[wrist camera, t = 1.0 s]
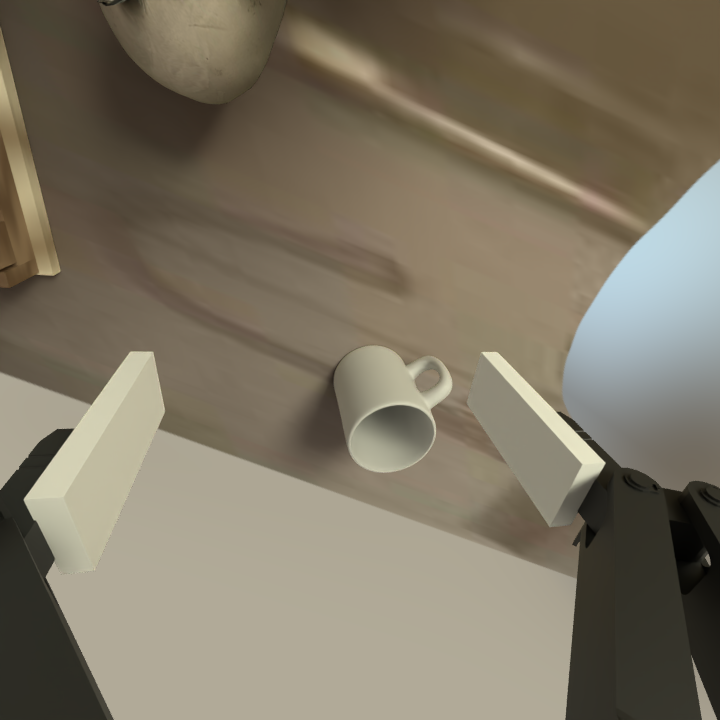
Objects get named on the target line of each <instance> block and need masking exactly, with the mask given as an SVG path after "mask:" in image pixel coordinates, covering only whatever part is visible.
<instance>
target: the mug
mask: <svg viewBox="0 0 720 720" xmlns="http://www.w3.org/2000/svg"><path fill="white" fill-rule="evenodd" d="M429 369H433V370H436V371H437V372H438V373H439V376H440V379H439V381H438V383H437V384H436V385H435V386H434V387H432V388H430V389H429V390H426V391H424V392H419V390H418V389H417V387H416V384H415V378H416V377H417V376H418V375H420V374H421V373H422V372H424V371H426V370H429ZM334 389H335V393H336V397H337V401H338V406H339V410H340V415H341V420H342V425H343V430H344V434H345V439H346V444H347V448H348V451H349V454H350V456H351V457H352V459H353V460H354V461H355V462H356V463H357V464H358V465H359V466H361V467H362V468H364V469H366V470H369V471H373V472H380V473H388V472H395V471H399V470H403V469H405V468H408V467H410V466H412V465H413V464H415V463H416V462H418V461H419V460H420V459H422V458H423V457H424V456H425V455H426V454H427V452H428V451H429V450H430V448H431V447H432V445H433V443H434V440H435V436H436V425H435V421H434V419H433V416H432V414H431V411H430V410H431V408H432V407H434V406H435V405H436V404H438V403H439V402H441V401H442V400H443V399H444V398H446V397H447V396H448V395H449V393H450V392H451V389H452V379H451V376H450V374H449V371H448V370H447V368H446V367H445V365H444V364H443V363H442V362H441V361H440V360H439V359H437V358H435V357H433V356H423V357H421V358H419V359H417V360H415V361H413V362H411V363H410V364H408V365H406V366H405V364H404V362H403V360H402V359H401V358H400V356H399V355H398V354H396V353H395V352H394V351H392V350H391V349H389V348H386V347H383V346H376V345H371V346H364V347H361V348H358V349H355V350H354V351H352V352H350V353H349V354H347V355H346V356H345V357H344V358H343V359H342V360H341V361H340V363H339V364H338V366H337V368H336V371H335V374H334Z"/></svg>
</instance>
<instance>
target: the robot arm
mask: <svg viewBox="0 0 720 720" xmlns="http://www.w3.org/2000/svg"><path fill="white" fill-rule="evenodd" d="M467 405H468V406H469V408H470V409H471V411H472V412H473V414H474V415H475V417H476V418H477V420H478V421H479V423H480V424H481V426H482V427H483V429H484V430H485V432H486V433H487V435H488V436H489V437H490V439H491V440H492V442H493V443H494V445H495V446H496V448H497V449H498V451H499V452H500V454H501V455H502V457H503V458H504V460H505V461H506V463H507V464H508V466H509V467H510V469H511V470H512V472H513V473H514V475H515V476H516V478H517V479H518V481H519V482H520V484H521V485H522V487H523V488H524V489H525V491H526V492H527V494H528V495H529V497H530V498H531V500H532V501H533V503H534V504H535V506H536V507H537V509H538V510H539V512H540V513H541V515H542V516H543V518H544V519H545V521H546V522H547V524H548V525H549V527H556V526H566V525H571V524H572V522H573V520H574V518H575V517H576V515H577V513H578V512H579V514H580V515H581V516H582V518H583V519H584V520H585V523H584V525H583V526H582V528H581V530H580V531H579V533H578V535H577V536H576V538H575V540H574V542H573V544H572V545H574V546H577V544H578V542H580V550H579V562H578V574H577V588H576V599H575V612H574V625H573V635H572V647H571V660H570V671H569V684H568V695H567V707H566V720H702V718H701V712H700V706H699V699H698V694H697V688H696V682H695V675H694V670H693V663H692V658H693V660H694V663H695V665H696V668H697V670H698V673H699V675H700V678H701V680H702V682H703V685H704V688H705V690H706V692H707V695H708V697H709V700H710V702H711V705H712V707H713V710H714V712H715V715H716V717H717V720H720V488H718V487H717V486H714V485H711V484H708V483H705V482H700V481H692V482H689V484H688V485H687V486H686V488H685V489H684V490H683V492H680V491H675V490H670V489H665V488H661V487H660V486H659V484H658V483H657V482H656V481H654V480H653V479H652V478H650V477H649V476H647V475H646V474H644V473H642V472H639V471H637V470H633V469H630V468H621V467H620V466H619V465H618V464H617V463H616V462H615V461H614V460H613V459H612V458H611V457H610V456H609V455H608V454H607V453H606V452H605V451H604V450H603V449H602V448H601V447H600V446H599V445H598V444H597V443H596V442H595V441H594V440H592V439H591V437H590V436H589V435H588V434H587V433H586V432H584V431H583V429H582V428H581V427H580V426H579V425H578V424H577V423H576V422H575V421H574V420H572V419H571V418H569V417H568V416H566V415H564V414H563V413H561V412H555V411H554V410H553V409H552V408H551V407H550V406H549V405H548V404H547V402H546V401H545V400H544V399H543V398H542V397H541V396H540V395H539V394H538V393H537V392H536V391H535V390H534V389H533V388H532V387H531V386H530V385H529V384H528V383H527V382H526V381H525V380H524V379H523V378H522V377H521V376H520V375H519V374H518V373H517V372H516V371H515V370H514V369H513V368H512V367H511V366H510V365H509V364H508V362H507V361H506V360H505V359H504V358H503V357H502V356H501V355H500V354H499V353H498V352H481V355H480V358H479V362H478V365H477V369H476V372H475V376H474V379H473V383H472V386H471V390H470V393H469V397H468V400H467ZM164 413H165V408H164V403H163V398H162V393H161V388H160V383H159V378H158V373H157V368H156V363H155V359H154V354H153V352H130V353H129V354H128V356H127V357H126V358H125V360H124V361H123V363H122V364H121V365H120V367H119V368H118V369H117V371H116V372H115V374H114V375H113V376H112V378H111V379H110V381H109V382H108V383H107V385H106V386H105V387H104V389H103V390H102V392H101V393H100V394H99V396H98V397H97V399H96V400H95V401H94V403H93V404H92V405H91V407H90V408H89V410H88V411H87V412H86V414H85V415H84V417H83V418H82V420H81V421H80V422H79V423H78V425H77V426H76V428H75V429H57V430H55V431H54V432H53V433H51V434H50V435H48V436H47V437H45V438H44V439H43V440H41V441H40V442H39V443H38V444H37V445H36V447H35V448H34V449H33V451H32V452H31V453H30V454H29V457H28V458H26V459H25V460H24V462H23V463H22V464H21V465H20V466H19V470H16V471H15V473H14V474H13V475H12V476H11V478H10V479H9V480H8V481H7V483H6V484H5V485H4V486H3V488H2V489H1V490H0V720H114V719H113V717H112V715H111V714H110V711H109V709H108V707H107V705H106V703H105V701H104V698H103V697H102V694H101V692H100V690H99V688H98V686H97V684H96V682H95V679H94V677H93V675H92V673H91V671H90V669H89V667H88V665H87V663H86V661H85V659H84V656H83V655H82V652H81V650H80V648H79V646H78V644H77V642H76V640H75V638H74V635H73V633H72V631H71V629H70V627H69V625H68V623H67V621H66V619H65V617H64V615H63V612H62V610H61V608H60V606H59V604H58V602H57V600H56V598H55V596H54V594H53V591H52V589H51V587H50V585H49V583H48V581H47V579H46V578H45V577H46V575H47V573H48V571H49V569H50V568H51V566H52V564H53V562H54V561H55V563H56V565H57V567H58V569H59V571H60V573H61V574H70V573H81V572H92V571H95V570H96V567H97V565H98V563H99V561H100V558H101V556H102V554H103V552H104V549H105V547H106V545H107V542H108V540H109V538H110V536H111V533H112V531H113V529H114V527H115V524H116V522H117V520H118V518H119V515H120V513H121V511H122V508H123V506H124V503H125V502H126V499H127V497H128V495H129V492H130V490H131V488H132V485H133V483H134V481H135V479H136V477H137V474H138V472H139V470H140V467H141V465H142V463H143V460H144V458H145V456H146V454H147V452H148V449H149V447H150V445H151V442H152V440H153V438H154V435H155V433H156V431H157V429H158V427H159V424H160V422H161V420H162V417H163V415H164ZM707 554H709V556H710V561H711V565H710V566H709V564H708V562H707V561H706V559H705V557H706V555H707ZM691 655H692V658H691Z"/></svg>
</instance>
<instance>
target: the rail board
mask: <svg viewBox="0 0 720 720" xmlns="http://www.w3.org/2000/svg"><path fill="white" fill-rule="evenodd" d="M59 272H61V270H60V266H59V262H58V258H57V254H56V250H55V246H54V242H53V238H52V234H51V230H50V226H49V222H48V217H47V213H46V209H45V205H44V201H43V197H42V193H41V189H40V185H39V181H38V177H37V173H36V169H35V165H34V161H33V157H32V152H31V148H30V144H29V140H28V136H27V132H26V128H25V124H24V120H23V116H22V112H21V108H20V104H19V100H18V96H17V92H16V87H15V83H14V79H13V75H12V71H11V67H10V63H9V59H8V55H7V51H6V47H5V43H4V39H3V35H2V31H1V27H0V287H2V288H11V287H13V286H14V285H16V284H18V283H20V282H22V281H24V280H26V279H28V278H30V277H32V276H34V275H35V274H36V275H51V276H54V275H56V274H58V273H59Z"/></svg>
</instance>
